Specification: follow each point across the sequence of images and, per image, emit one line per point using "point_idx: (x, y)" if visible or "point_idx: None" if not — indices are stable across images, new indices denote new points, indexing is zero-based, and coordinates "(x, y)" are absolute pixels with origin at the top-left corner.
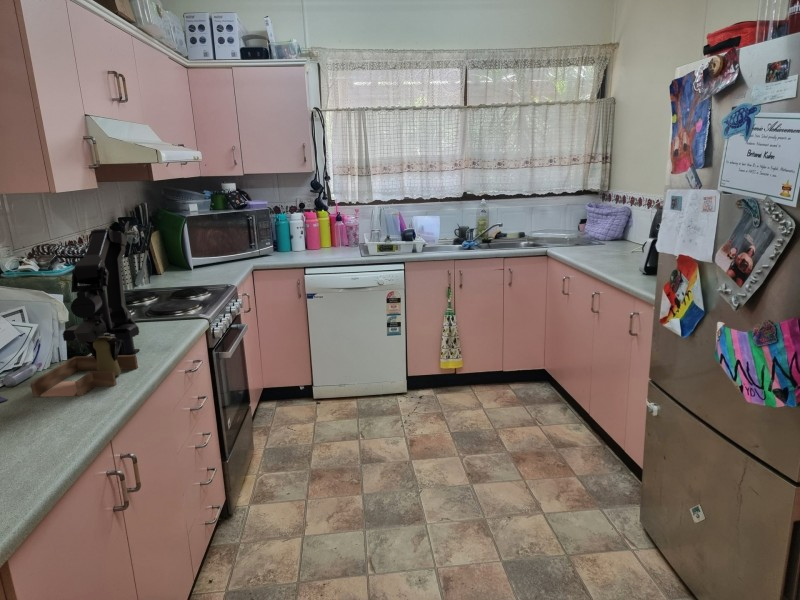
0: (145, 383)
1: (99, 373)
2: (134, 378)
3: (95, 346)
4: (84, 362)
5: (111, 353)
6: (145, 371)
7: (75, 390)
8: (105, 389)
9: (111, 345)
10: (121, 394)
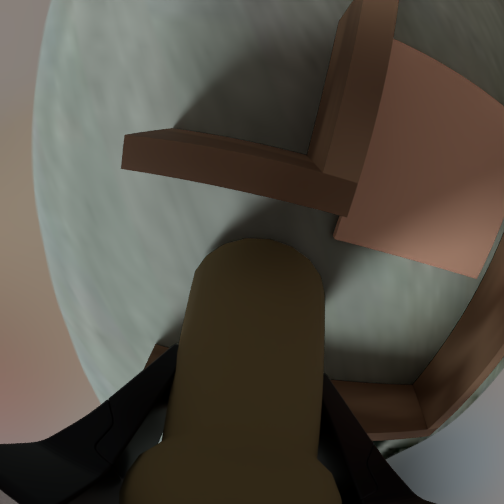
0: (37, 142)
1: (248, 151)
2: (104, 223)
3: (299, 502)
4: (395, 411)
5: (157, 394)
6: (99, 300)
7: (403, 100)
8: (213, 80)
9: (90, 458)
10: (102, 11)
